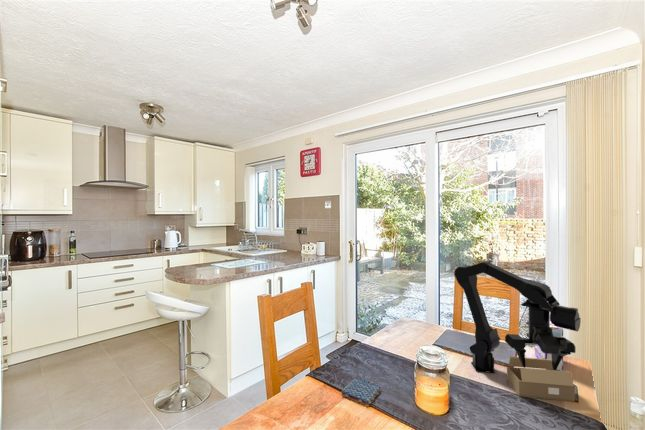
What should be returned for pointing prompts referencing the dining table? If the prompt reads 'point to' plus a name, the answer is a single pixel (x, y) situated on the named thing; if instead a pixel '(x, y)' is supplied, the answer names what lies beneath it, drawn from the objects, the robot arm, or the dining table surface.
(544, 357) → the candy box
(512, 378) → the carton
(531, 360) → the back flap
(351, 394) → the woven mat
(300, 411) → the dining table surface
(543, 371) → the front flap
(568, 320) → the robot arm
